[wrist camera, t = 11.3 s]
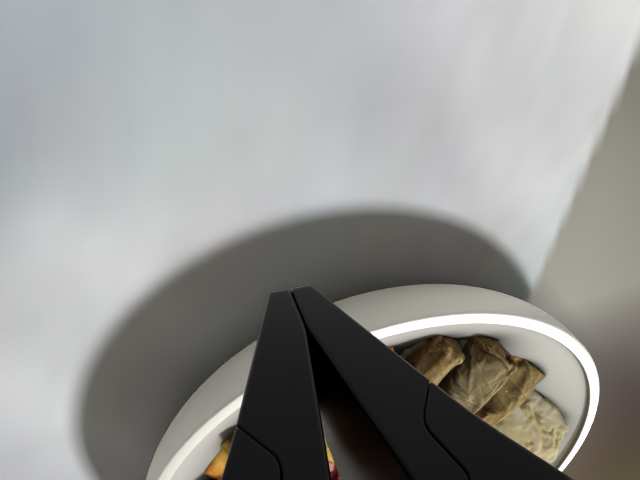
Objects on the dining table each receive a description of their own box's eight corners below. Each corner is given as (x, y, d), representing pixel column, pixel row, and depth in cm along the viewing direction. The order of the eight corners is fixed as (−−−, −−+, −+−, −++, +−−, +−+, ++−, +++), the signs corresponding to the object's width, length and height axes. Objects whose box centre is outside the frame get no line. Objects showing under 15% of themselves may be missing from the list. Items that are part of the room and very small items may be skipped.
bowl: (523, 163, 25) (644, 245, 19) (564, 428, 43) (633, 515, 36) (28, 420, 26) (-18, 583, 19) (272, 575, 44) (290, 685, 37)
